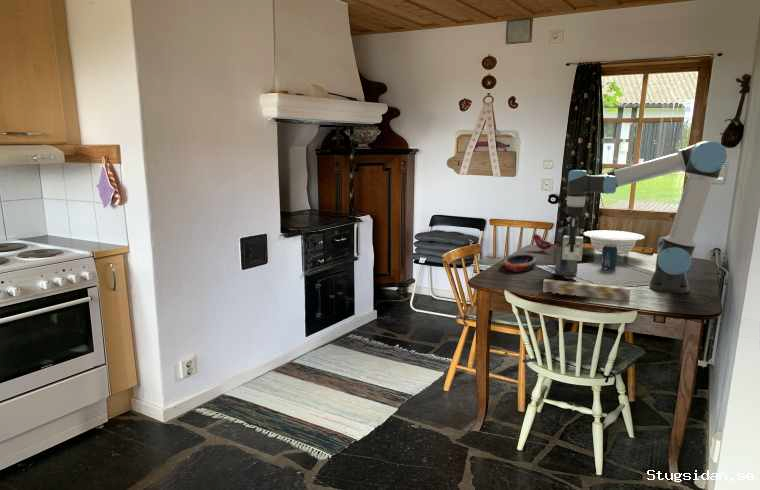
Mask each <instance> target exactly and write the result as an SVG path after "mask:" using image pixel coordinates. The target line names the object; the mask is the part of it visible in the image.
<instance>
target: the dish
mask: <svg viewBox="0 0 760 490" xmlns="http://www.w3.org/2000/svg"><path fill="white" fill-rule="evenodd" d="M536 263H537V256H536V255H533V254H527V253H525V254H524V253H521V254H514V255H510V256H507V257H506V258H505V257H504V259H503V260H502V265H503V266H504V268H505V269H506V270H508V271H510V272H515V273H520V272H525V271H528V270H531V269H532V268H534V266H535V265H536Z"/></svg>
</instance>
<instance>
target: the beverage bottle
mask: <svg viewBox="0 0 760 490" xmlns="http://www.w3.org/2000/svg"><path fill="white" fill-rule="evenodd" d="M564 235H565V236H569V235H570V228H569V226H568V225H567V226H564V227H559V228H558V229H557V235H556V241H557V242H558V243H556V244H557V245H556V249H555V252H556V254H555V266H554V268H555V269H554V272H555V274H556V275H558V274H559V275H558V276H561V275H564V276H563V277H572V276H571V275H573V276H576V275H577V274H578V273H577V272H578V262H579V261H576V260H564V259H562V249H563V237H564ZM577 236H579V237H580V228H578V230H577Z"/></svg>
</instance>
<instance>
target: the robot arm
mask: <svg viewBox="0 0 760 490" xmlns="http://www.w3.org/2000/svg"><path fill="white" fill-rule="evenodd" d="M727 158H728V154H727V150H726V148H725V146H724V145H722V144H721V143H720V142H718V141H715V140H704V141H703V140H702V141H699V142H697V143H694V144H693V145H690V146H687V147H685V148H683V149H679V150H678V151H677V152H676V153H672V154H669V155H665V156H662V157H658V158H655V159H651V160H648V161H644V162H640V163H636V164H633V165H630V166H626V167H623V168H618V169H614V170H611V171H608V172H602V173H599V174H595V175H592V174H588V171H587V170H583V169H573V170H570V171H568V177H567V190H566V191H567V192H566V197H565V198H564V199H565V200H566V207H565V208H566V209H565V214H566V215H567V216H570V220H569V221H568V222H569V226H568V227H569V228H570V235H569V243H567V244H569V251H568V259H575V246H576V245H575V244H576V243H575V240H576V236H577V230H578V229H579V224H580V218H579V217H580V216H584V214H585V205H586V194H587V193H592V194H593V193H594V194H606V195H607V194H615V193H616V191H617V188H620V187H623V186H627V185H631V184H635V183H639V182H643V181H646V180H650V179H655V178H658V177H663V176H667V175H669V174H673V173H679V172H681V171H682V172H684V173H685V175H686V177H687V179H686V182H685V184H684V188H683V190H682V194H681V197H680V201H679V204H678V206H677V210H676V213H675V216H674V218H673V222H672V226H671V229H670V232H669V234H668V235H666V236H661V237H659V238H658V242H657V250H656V251H657V252H656V259H655V260H656V261H655V270H654V273H653V275H652V277H651V278H650V281H649V286H648V287H649V289H652V290H653V291H657V292H661V293H668V294H686V293H688V292H689V288H690V287H689V286H690V285H689V281H688V279H687V274H686V272H688V270H689V269H690V268H691V266H692V263H693V262H692V260H693V259H692V258H693V255H694V254H693V253H694V251H695V247H696V243H695V242H694V238H695V235H696V231H697V229H698V225H699V223H700V219H701V216H702V213H703V210H704V207H705V205H706V201H707V199H708V196H709V192H710V190H711V187H712V184H713V182H714V181H717V180H718V179H719V177H720V174H721V170H722V167H723V166H724V165H725V163H726V162H727Z"/></svg>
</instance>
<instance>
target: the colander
mask: <svg viewBox="0 0 760 490" xmlns="http://www.w3.org/2000/svg"><path fill="white" fill-rule="evenodd" d="M583 236H585V237H589V238H590V243H591V245H592V247H593V248H594V249H595V251H597V252H599V253H602V251H603V247H604V245H608V244H609V245H616V247H617V256H619V255H624V254H628V253H629V252H631V251H632V250H633V249H634V247H635V246H636V243H637V241H641V240H643V239H645V238H646V237H645V235H643V234H640V233H637V232H636V233H635V232H630V231H623V230H609V229H608V230H607V229H603V230H602V229H601V230H587V231H584V232H583Z"/></svg>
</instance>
